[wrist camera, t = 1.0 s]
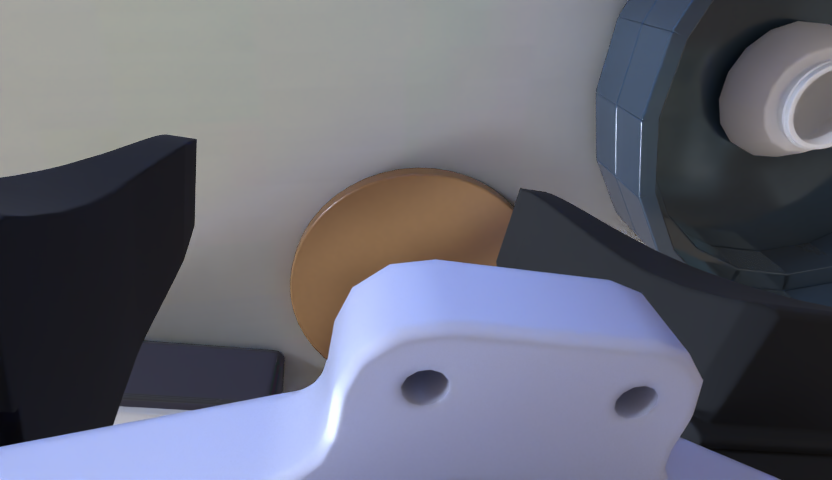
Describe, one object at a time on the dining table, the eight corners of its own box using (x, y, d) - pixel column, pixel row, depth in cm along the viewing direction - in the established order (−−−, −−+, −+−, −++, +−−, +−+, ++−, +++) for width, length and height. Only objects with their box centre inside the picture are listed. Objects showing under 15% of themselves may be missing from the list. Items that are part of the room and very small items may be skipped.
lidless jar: (744, 173, 24) (857, 95, 22) (791, 201, 21) (922, 115, 20) (692, 81, 22) (813, -10, 20) (736, 99, 19) (879, -4, 18)
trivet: (584, 275, 26) (591, 285, 25) (416, 411, 29) (417, 423, 28) (416, 111, 22) (417, 116, 21) (240, 289, 25) (236, 299, 24)
